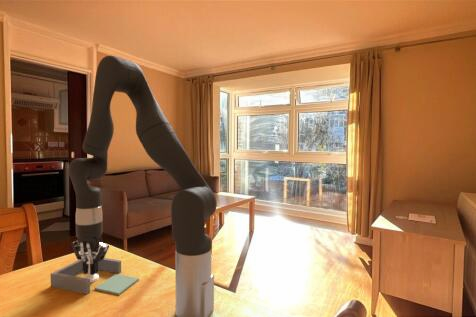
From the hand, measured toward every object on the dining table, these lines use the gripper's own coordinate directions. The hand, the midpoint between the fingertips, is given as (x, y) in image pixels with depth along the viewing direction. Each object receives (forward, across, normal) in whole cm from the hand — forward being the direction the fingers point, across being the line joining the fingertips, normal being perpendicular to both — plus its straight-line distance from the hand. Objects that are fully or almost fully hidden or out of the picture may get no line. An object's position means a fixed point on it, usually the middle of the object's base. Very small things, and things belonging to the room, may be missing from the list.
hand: (90, 272), depth 88 cm
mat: (+2, -11, 0) cm, 11 cm away
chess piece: (+2, 0, 0) cm, 2 cm away
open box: (+2, 0, 0) cm, 2 cm away
